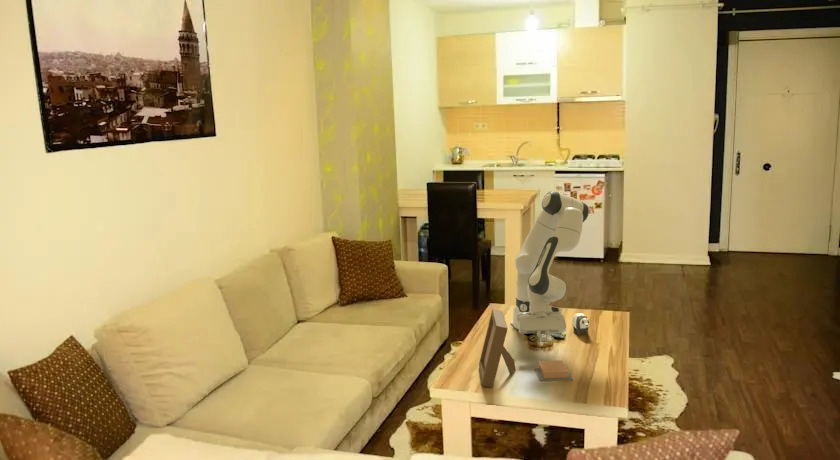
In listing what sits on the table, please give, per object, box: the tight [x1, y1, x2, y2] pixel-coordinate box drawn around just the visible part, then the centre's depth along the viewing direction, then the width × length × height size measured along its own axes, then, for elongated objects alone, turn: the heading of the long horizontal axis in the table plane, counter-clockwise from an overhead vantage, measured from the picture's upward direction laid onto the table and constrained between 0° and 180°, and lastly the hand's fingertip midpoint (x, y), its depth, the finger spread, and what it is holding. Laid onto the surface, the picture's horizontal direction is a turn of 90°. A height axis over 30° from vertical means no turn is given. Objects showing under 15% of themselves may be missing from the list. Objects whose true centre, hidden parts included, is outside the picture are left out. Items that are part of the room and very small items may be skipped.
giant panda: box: [571, 312, 590, 336], centre depth 323 cm, size 15×6×10 cm, turn 4°
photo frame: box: [478, 308, 516, 388], centre depth 276 cm, size 15×22×25 cm
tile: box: [537, 359, 570, 379], centre depth 279 cm, size 10×2×12 cm
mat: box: [534, 366, 574, 382], centre depth 278 cm, size 12×13×1 cm
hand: (544, 341), depth 292 cm, fingers closed
